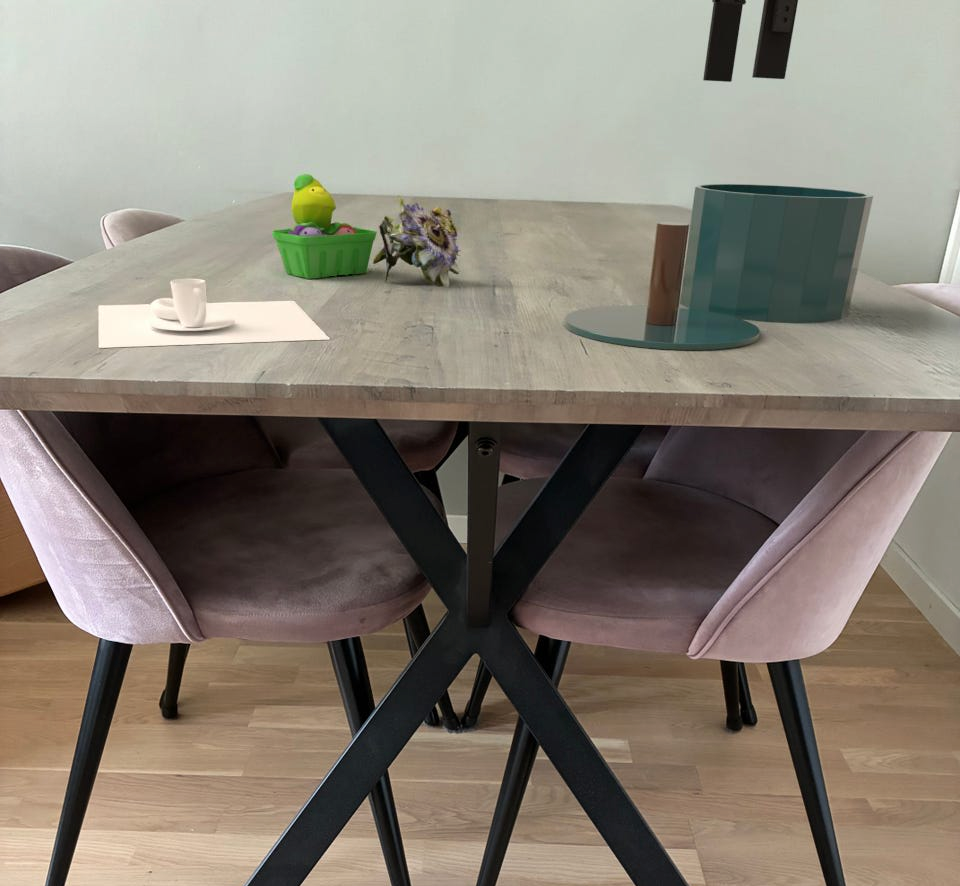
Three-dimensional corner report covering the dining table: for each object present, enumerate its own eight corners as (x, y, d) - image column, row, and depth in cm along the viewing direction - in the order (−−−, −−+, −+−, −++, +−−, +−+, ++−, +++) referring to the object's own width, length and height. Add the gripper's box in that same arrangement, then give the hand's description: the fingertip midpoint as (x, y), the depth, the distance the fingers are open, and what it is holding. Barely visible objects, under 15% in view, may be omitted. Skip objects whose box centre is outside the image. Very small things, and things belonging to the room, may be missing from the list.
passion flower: (441, 334, 117) (440, 258, 106) (359, 310, 118) (350, 232, 108) (471, 270, 122) (474, 191, 111) (392, 247, 123) (386, 167, 112)
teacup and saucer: (145, 318, 93) (139, 273, 91) (229, 316, 95) (225, 272, 93) (149, 337, 85) (143, 289, 83) (239, 334, 88) (235, 287, 86)
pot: (802, 298, 117) (823, 186, 111) (876, 329, 101) (906, 199, 95) (659, 297, 114) (673, 182, 108) (712, 328, 98) (732, 195, 92)
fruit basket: (305, 281, 115) (299, 178, 110) (266, 272, 121) (259, 173, 116) (380, 274, 122) (379, 177, 117) (340, 265, 128) (337, 172, 122)
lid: (717, 317, 104) (732, 215, 99) (790, 357, 87) (812, 237, 82) (546, 316, 101) (553, 211, 96) (588, 356, 85) (599, 233, 80)
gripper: (696, -181, 90) (665, 80, 100) (804, -270, 68) (750, 74, 79) (772, -174, 91) (733, 83, 101) (903, -260, 69) (836, 79, 79)
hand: (741, 80), depth 90 cm, fingers open, 13 cm apart
